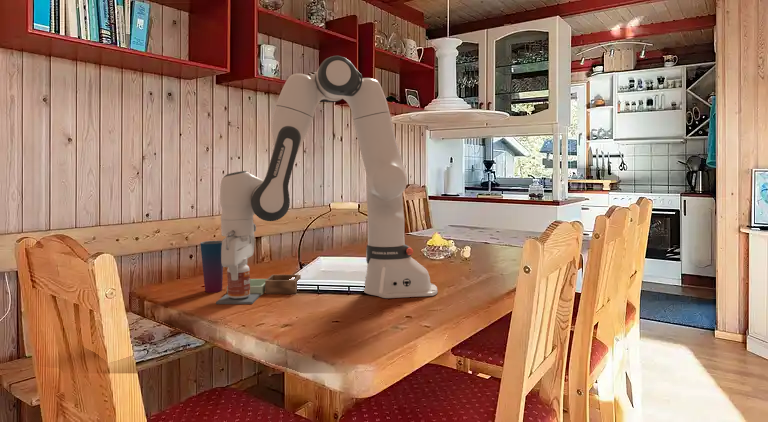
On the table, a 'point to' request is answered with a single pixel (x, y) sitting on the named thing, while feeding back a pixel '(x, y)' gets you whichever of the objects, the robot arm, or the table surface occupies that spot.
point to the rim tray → (256, 286)
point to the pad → (247, 300)
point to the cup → (212, 265)
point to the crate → (281, 284)
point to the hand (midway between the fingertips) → (239, 277)
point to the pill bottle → (239, 282)
